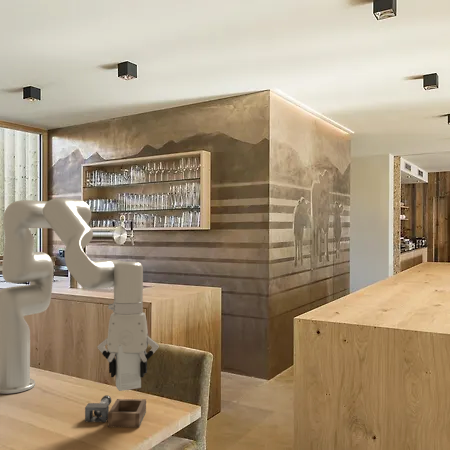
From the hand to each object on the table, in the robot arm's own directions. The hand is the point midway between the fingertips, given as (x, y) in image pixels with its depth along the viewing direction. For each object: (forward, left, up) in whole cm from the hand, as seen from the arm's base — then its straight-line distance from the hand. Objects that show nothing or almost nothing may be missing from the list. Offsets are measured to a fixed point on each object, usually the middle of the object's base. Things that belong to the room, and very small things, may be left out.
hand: (128, 375), depth 126 cm
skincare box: (0, 0, -4) cm, 4 cm away
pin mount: (-8, 0, -12) cm, 14 cm away
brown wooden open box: (0, 0, -12) cm, 12 cm away
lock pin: (-8, +5, -11) cm, 15 cm away
